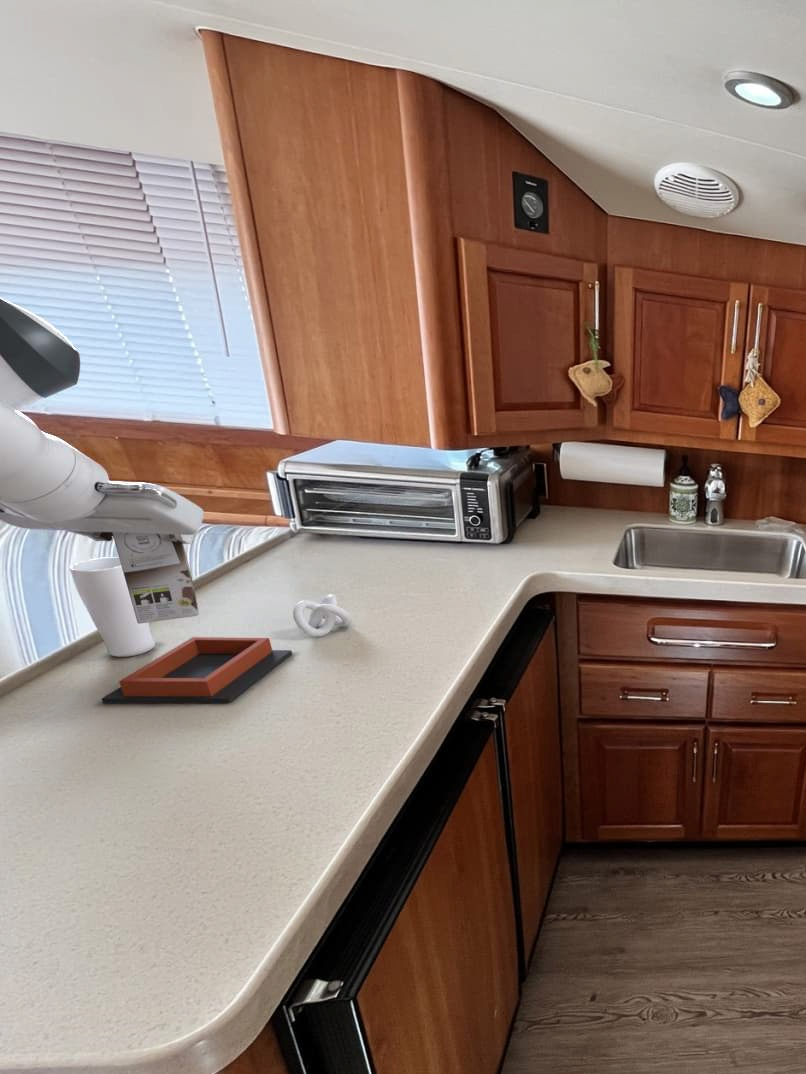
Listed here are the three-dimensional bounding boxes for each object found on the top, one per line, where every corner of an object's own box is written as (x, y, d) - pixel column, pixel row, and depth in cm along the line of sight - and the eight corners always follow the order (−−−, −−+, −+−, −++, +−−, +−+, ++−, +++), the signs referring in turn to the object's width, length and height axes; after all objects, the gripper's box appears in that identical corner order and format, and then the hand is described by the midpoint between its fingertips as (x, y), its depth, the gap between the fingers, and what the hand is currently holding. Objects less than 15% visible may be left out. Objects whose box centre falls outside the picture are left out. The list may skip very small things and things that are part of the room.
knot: (364, 621, 118) (358, 592, 115) (338, 640, 110) (331, 610, 108) (321, 619, 117) (314, 590, 115) (292, 639, 110) (284, 608, 107)
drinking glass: (120, 664, 98) (85, 574, 92) (92, 655, 100) (57, 566, 94) (172, 646, 104) (143, 561, 98) (145, 638, 106) (115, 553, 100)
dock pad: (102, 703, 89) (94, 683, 88) (183, 653, 103) (177, 635, 101) (230, 703, 91) (223, 683, 90) (292, 654, 105) (288, 636, 104)
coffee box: (201, 615, 89) (171, 500, 85) (136, 625, 85) (101, 504, 80) (199, 603, 95) (171, 495, 91) (138, 611, 91) (106, 498, 87)
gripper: (163, 464, 76) (239, 520, 89) (-39, 454, 73) (70, 514, 86) (144, 510, 74) (225, 561, 86) (-65, 502, 71) (51, 556, 83)
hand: (147, 538), depth 86 cm, fingers closed on coffee box, 8 cm apart
